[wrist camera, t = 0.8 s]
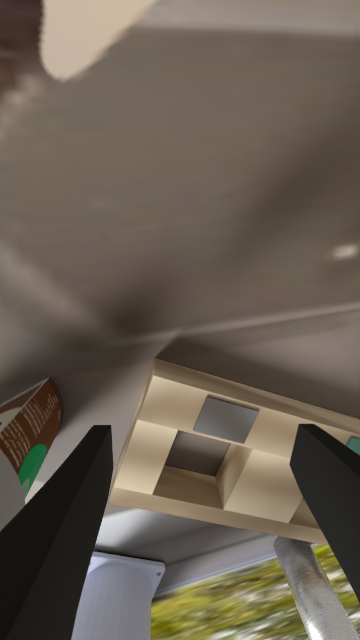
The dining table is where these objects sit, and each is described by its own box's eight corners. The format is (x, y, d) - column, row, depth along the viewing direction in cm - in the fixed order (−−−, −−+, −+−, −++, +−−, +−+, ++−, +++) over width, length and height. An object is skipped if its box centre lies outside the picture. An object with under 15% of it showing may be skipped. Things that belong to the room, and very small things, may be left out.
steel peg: (297, 558, 25) (348, 667, 18) (268, 553, 25) (308, 663, 18) (312, 533, 24) (370, 637, 18) (282, 527, 24) (330, 632, 17)
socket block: (342, 518, 24) (369, 555, 21) (115, 468, 21) (107, 505, 18) (397, 430, 22) (436, 457, 19) (154, 357, 18) (153, 376, 15)
